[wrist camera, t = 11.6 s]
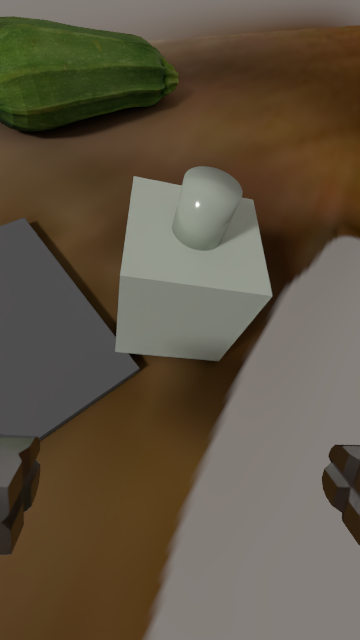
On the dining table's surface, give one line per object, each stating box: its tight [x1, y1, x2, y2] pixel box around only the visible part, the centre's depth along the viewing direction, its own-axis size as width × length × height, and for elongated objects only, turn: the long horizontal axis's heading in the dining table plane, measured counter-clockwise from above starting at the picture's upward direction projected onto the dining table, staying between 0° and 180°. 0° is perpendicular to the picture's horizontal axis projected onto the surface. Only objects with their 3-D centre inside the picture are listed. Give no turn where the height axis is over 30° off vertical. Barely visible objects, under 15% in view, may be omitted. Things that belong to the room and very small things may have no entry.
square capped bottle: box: [115, 166, 272, 361], centre depth 16 cm, size 6×6×10 cm
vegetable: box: [0, 17, 179, 132], centre depth 27 cm, size 7×7×20 cm
